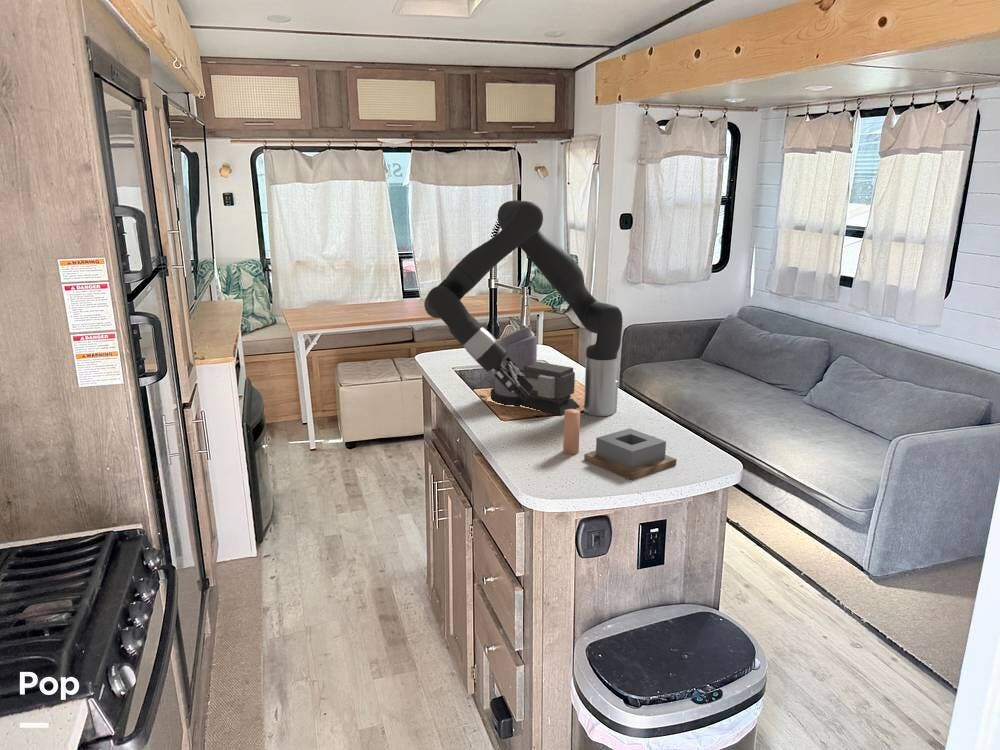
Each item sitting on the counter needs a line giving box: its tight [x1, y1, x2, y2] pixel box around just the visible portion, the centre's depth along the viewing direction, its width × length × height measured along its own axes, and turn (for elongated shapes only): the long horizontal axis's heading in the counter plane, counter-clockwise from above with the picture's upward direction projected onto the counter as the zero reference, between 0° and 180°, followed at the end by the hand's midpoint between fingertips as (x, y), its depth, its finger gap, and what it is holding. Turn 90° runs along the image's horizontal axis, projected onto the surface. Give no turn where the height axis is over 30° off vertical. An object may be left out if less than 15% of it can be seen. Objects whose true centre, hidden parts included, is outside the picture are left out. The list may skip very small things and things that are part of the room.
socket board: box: [583, 450, 677, 481], centre depth 178 cm, size 16×16×2 cm
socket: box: [595, 427, 667, 469], centre depth 177 cm, size 12×12×4 cm
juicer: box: [490, 326, 581, 417], centre depth 224 cm, size 30×16×24 cm, turn 54°
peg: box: [562, 409, 581, 456], centre depth 183 cm, size 4×4×11 cm
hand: (529, 394), depth 183 cm, fingers open, 8 cm apart
